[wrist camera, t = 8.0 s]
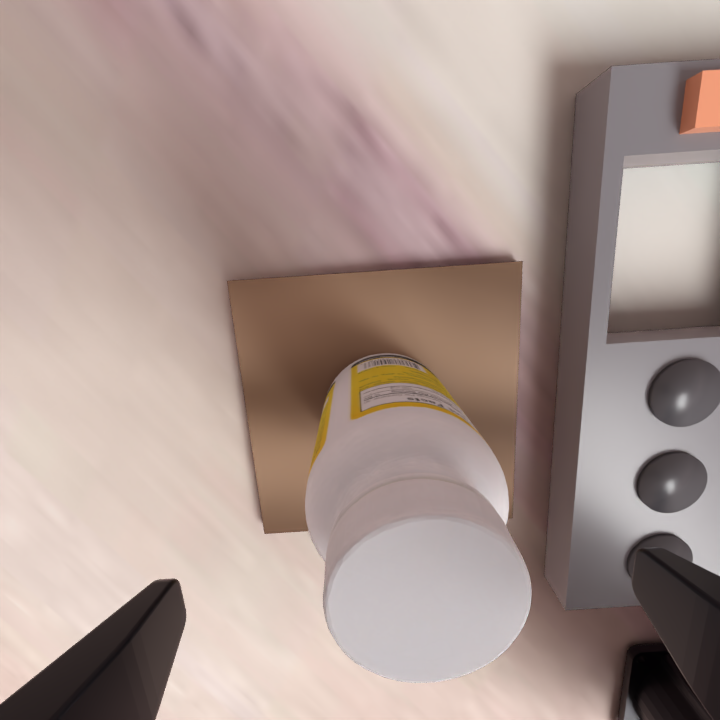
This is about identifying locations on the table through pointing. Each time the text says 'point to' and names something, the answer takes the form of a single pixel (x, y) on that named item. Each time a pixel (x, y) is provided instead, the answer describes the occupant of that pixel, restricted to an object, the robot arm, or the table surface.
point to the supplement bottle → (412, 527)
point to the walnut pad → (363, 338)
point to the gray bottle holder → (631, 356)
